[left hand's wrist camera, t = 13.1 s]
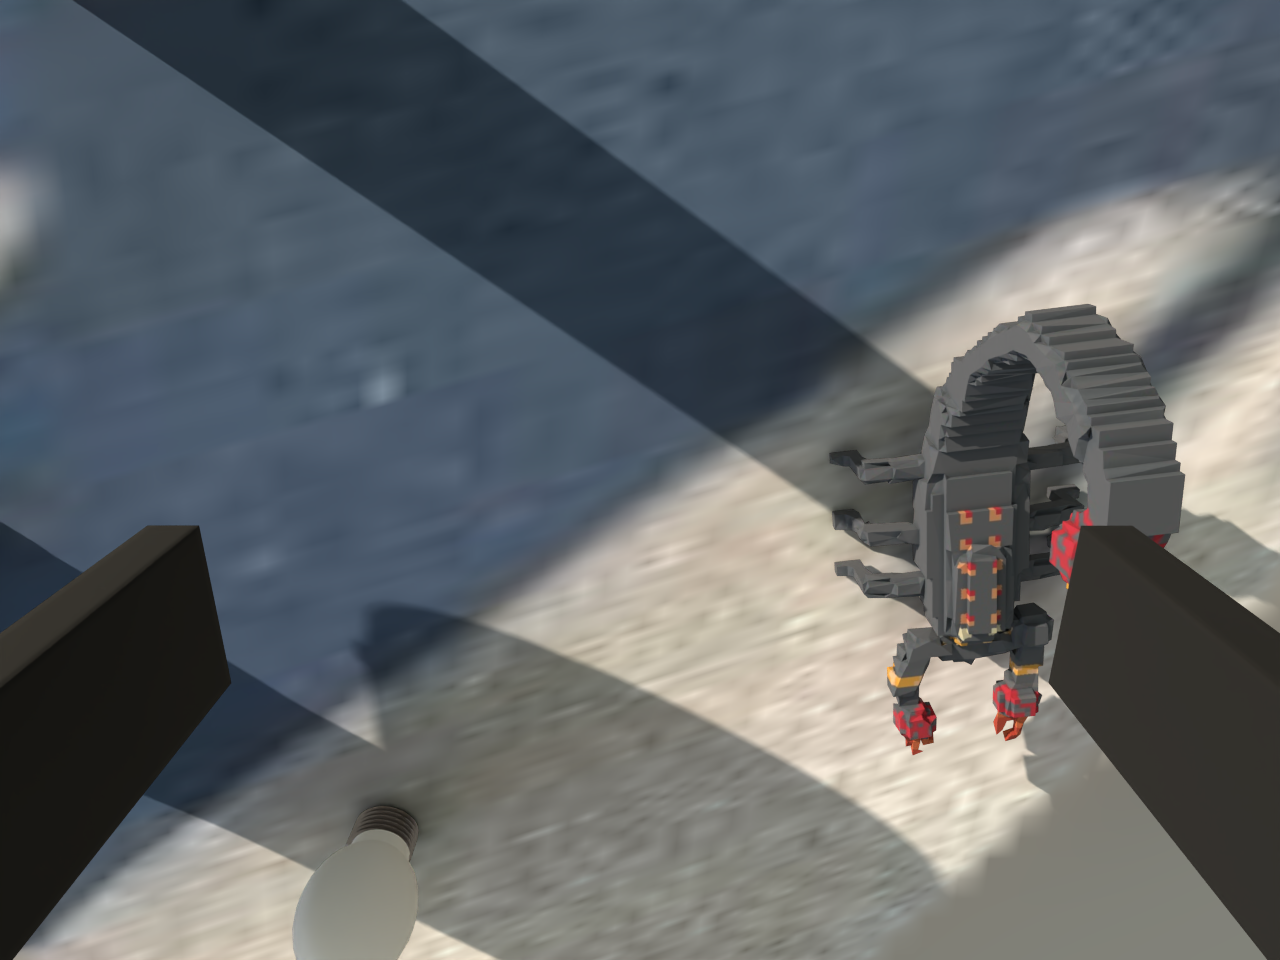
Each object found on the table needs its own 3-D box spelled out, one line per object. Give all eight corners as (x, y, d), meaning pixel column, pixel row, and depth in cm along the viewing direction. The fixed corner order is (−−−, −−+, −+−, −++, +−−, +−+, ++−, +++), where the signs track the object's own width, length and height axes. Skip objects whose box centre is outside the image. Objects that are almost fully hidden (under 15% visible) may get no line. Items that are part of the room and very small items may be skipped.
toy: (1089, 253, 42) (1401, 314, 25) (1059, 698, 51) (1271, 966, 34) (822, 286, 42) (946, 369, 25) (841, 720, 52) (941, 995, 35)
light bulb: (326, 848, 55) (254, 1004, 45) (353, 772, 53) (285, 918, 43) (423, 878, 56) (375, 1037, 46) (454, 804, 54) (411, 955, 44)
